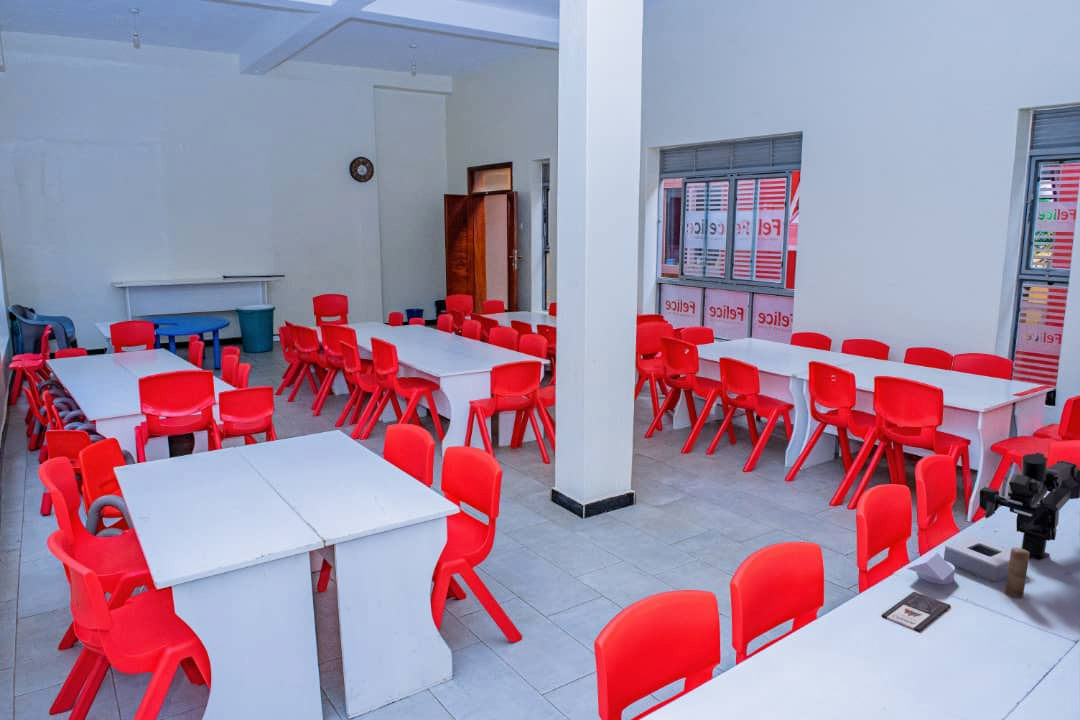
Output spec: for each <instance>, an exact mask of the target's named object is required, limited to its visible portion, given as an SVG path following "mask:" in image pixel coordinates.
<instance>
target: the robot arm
mask: <svg viewBox="0 0 1080 720" xmlns="http://www.w3.org/2000/svg"><path fill="white" fill-rule="evenodd" d="M1021 460H1022V461H1021V462H1022V463H1021V474H1019V473H1014V474H1013V475H1012V477H1011V479H1010V481H1009V483H1008V484H1009V487H1010V488H1009V489H1010V490H1009V491H1008V493H1007V496H1008V497H1005V496H1002V495H1000V492H999V490H997V489H993V488H990V487H987V486H984V487H982V488H980V490H979V508H980V509H982V510H983V511H984V512H985V514H984V518H985V519H988V518H990V517H991V516H993V515H994V514H996V511H997V510H998V508H999V506H1002V507H1006V508H1009V512H1011V513H1014V514H1017V516H1016V518H1015V519H1016V532H1020V533H1023V537H1022V543H1021V549H1024V550H1027V551H1028V552H1029V553H1030V554H1029V558H1030V559H1033V560H1036V561H1041V560H1044V559H1046V558H1048V557H1050V553H1048V552H1046V547H1047V541H1048V542H1049V541H1055V540H1056V536H1057V527H1058V525H1059V515H1060V510H1062V508H1063V507H1064V506H1065V505H1066V504H1067V503H1068V502H1069V500H1076V499H1080V468H1079V465H1078V464H1076V463H1075V462H1069V461H1065V460H1057V462H1056V463H1054V464H1052V465H1050V466H1048V458H1047V457H1045V454H1044V453H1040V452H1035V453H1028V454H1024V455H1023V456H1022V458H1021Z"/></svg>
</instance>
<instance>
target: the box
mask: <svg viewBox="0 0 1080 720" xmlns="http://www.w3.org/2000/svg"><path fill="white" fill-rule="evenodd" d="M1011 549H1012V548H1009V547H1005V546H1003V545H1001V544H997V543H995V542H992V541H989V540H988V539H984V538H981V537H978V536H976V535H971V536H969V537H964V538H962V539H960V540H956V541H955V542H952V543H949V544H946V545H945V549H944V553H943V559H944V560H945V561H947V562H949V563H951V564H952V565H954V567H955V569H959V570H961V571H963V570H964V571H963V572H966V573H968V572H969V573H968V574H971V575H973V574H974V575H973V576H976V575H977V576H976V577H978V578H980V577H981V578H980V579H984V580H986V581H988V582H991V583H993V584H996V583H998V582H1000V581H1002V580H1005V579H1007V574H1008V567H1009V561H1010V554H1011ZM1004 578H1005V579H1004Z"/></svg>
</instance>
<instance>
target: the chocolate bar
mask: <svg viewBox="0 0 1080 720" xmlns="http://www.w3.org/2000/svg"><path fill="white" fill-rule="evenodd" d="M951 606H952V605H951V604H949V603H947V602H943V601H941V600H937V599H935V598H933V597H929V596H927V595H924V594H921V593H919V592H916V591H912V592H911V593H910V594H908V595H907V596H906V597H904V598H902V599H901V600H900V601H899V602H897V603H896V604H894V605H893V606H891V608H889V609H888V610H886V611H885V612H883V613H882V614H881V617H882V618H884V619H886V620H889V621H891V620H892V621H891V622H894V623H896V622H897V623H896V624H898V623H899V625H901V626H903V625H904V626H903V627H907V628H908V627H909V629H911V630H914V631H916V632H919V633H920V632H922V631H923V630H924V629H926V628H927V627H928V626H929V625H930V624H931V623H933V622H934V621H935V620H937V617H938V616H939V617H940V616H942V613H943V612H944V613H945V612H947V611H948V610H949V609H951ZM948 608H949V609H948ZM947 609H948V610H947ZM944 613H943V614H944ZM939 617H938V618H939ZM932 621H933V622H932Z"/></svg>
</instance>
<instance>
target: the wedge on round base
mask: <svg viewBox="0 0 1080 720" xmlns="http://www.w3.org/2000/svg"><path fill="white" fill-rule="evenodd" d="M906 569H907V570H910V571H913V572H915V573H916V575H917V576H918V577H919V578H920V579H922V580H924V581H926V582H929V583H933V584H937V583H938V584H937V585H939V584H940V585H947V583H949V584H951V582H952V583H953V582H954V579H955V571H956V567H954V565H952V564H951V563H949V562H947V561H945V560H944V557H942V555H940V554H939V553H938V552H937V553H933V554H930V555H927V556H924V557H919V558H918V559H917V560H915V561H914V562H912V563H911V565H909V566H908V567H907V568H906Z"/></svg>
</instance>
